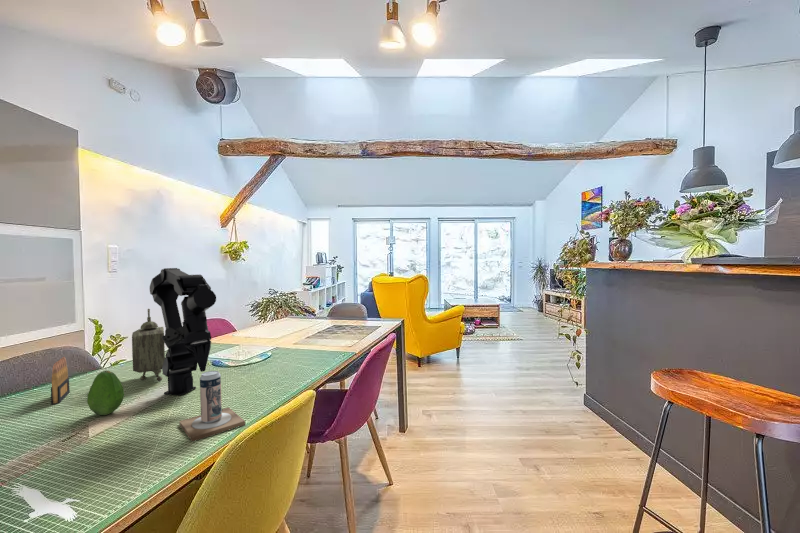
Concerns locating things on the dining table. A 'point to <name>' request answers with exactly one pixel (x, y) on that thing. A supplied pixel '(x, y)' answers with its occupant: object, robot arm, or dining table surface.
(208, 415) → the beer can
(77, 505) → the dining table surface
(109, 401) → the avocado
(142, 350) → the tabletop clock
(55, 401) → the ammunition clip
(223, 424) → the plate
